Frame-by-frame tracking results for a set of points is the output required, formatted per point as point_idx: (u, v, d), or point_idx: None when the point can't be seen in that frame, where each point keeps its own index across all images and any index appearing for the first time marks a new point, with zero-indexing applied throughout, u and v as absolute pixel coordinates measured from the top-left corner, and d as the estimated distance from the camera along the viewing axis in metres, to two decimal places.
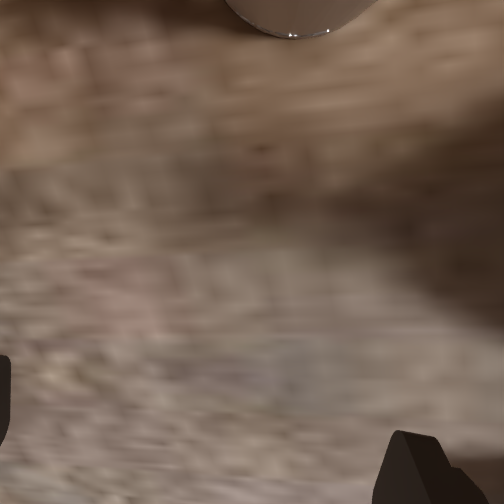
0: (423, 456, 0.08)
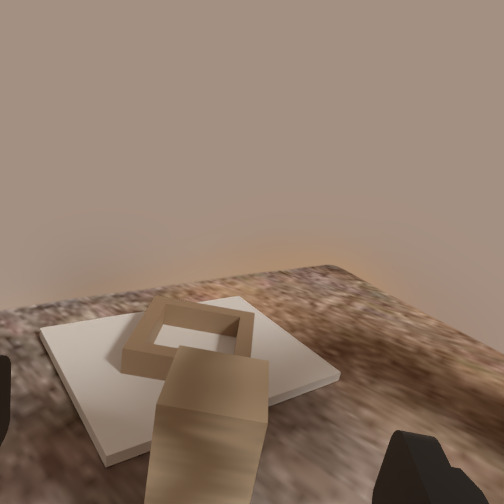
0: (423, 456, 0.08)
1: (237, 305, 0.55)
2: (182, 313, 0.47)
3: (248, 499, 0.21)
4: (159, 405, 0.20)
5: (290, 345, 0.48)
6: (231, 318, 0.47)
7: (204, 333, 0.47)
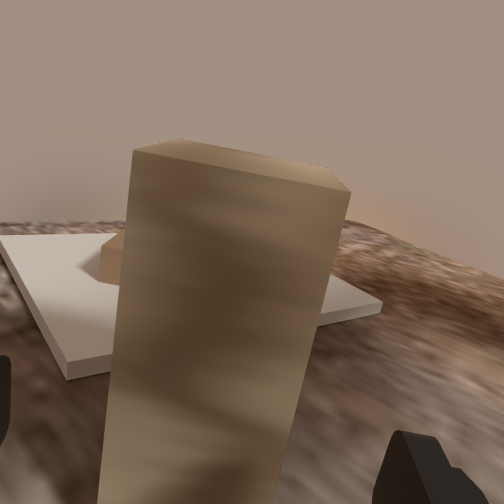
0: (423, 456, 0.08)
1: None
2: None
3: (303, 363, 0.11)
4: (139, 153, 0.10)
5: None
6: None
7: None
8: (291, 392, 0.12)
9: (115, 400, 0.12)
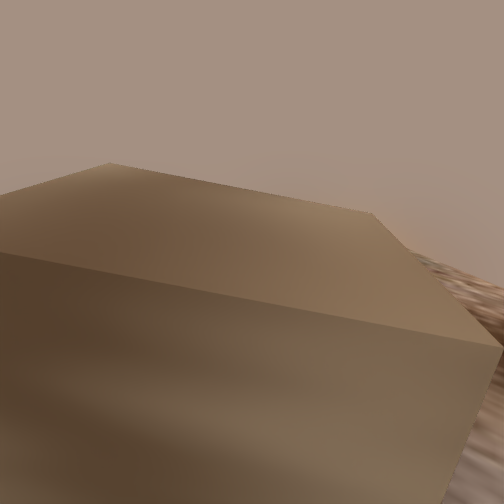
0: None
1: None
2: None
3: None
4: None
5: None
6: None
7: None
8: None
9: None
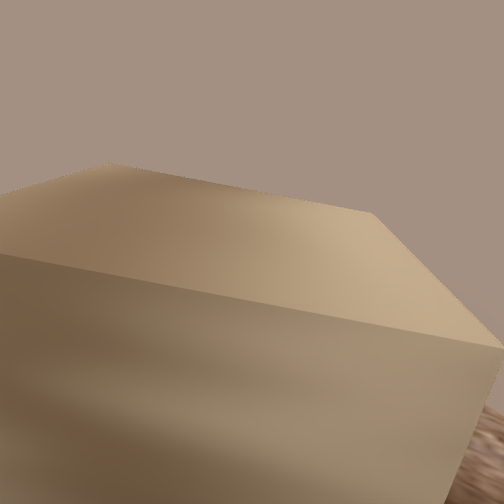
0: None
1: None
2: None
3: None
4: None
5: None
6: None
7: None
8: None
9: None
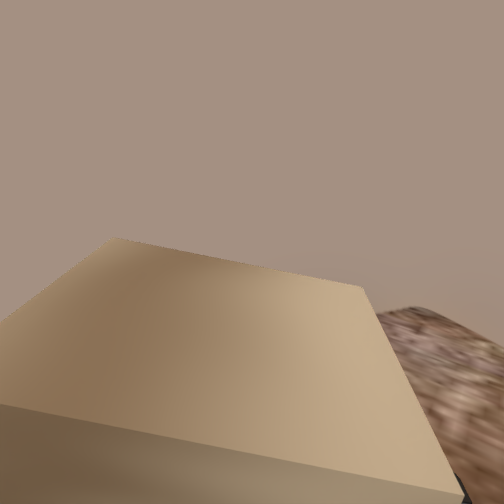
0: None
1: None
2: None
3: None
4: None
5: None
6: None
7: None
8: None
9: None
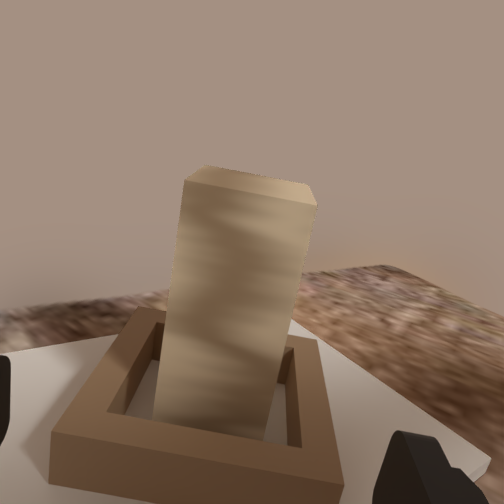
0: (423, 456, 0.08)
1: None
2: None
3: (289, 314, 0.18)
4: (188, 182, 0.16)
5: (381, 399, 0.27)
6: None
7: None
8: (282, 333, 0.18)
9: (167, 339, 0.18)
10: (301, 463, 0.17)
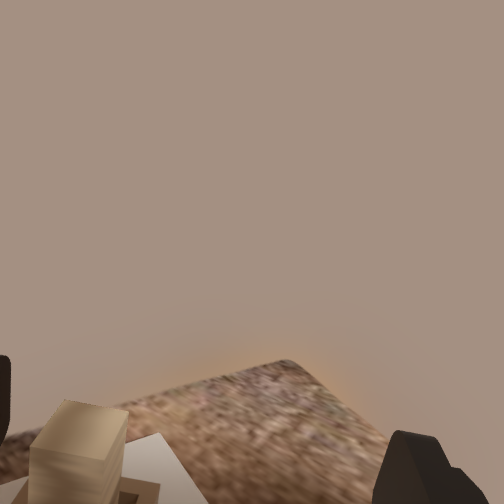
0: (423, 456, 0.08)
1: (153, 452, 0.46)
2: None
3: None
4: (31, 447, 0.29)
5: None
6: (128, 495, 0.38)
7: None
8: None
9: None
10: None
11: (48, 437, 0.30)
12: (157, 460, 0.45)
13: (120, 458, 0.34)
